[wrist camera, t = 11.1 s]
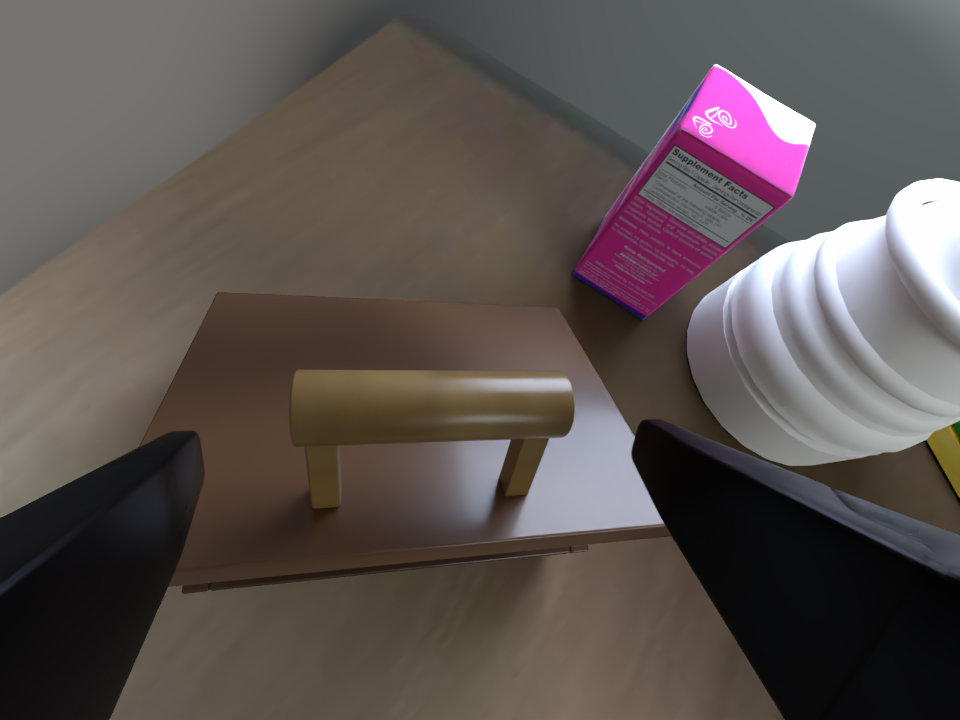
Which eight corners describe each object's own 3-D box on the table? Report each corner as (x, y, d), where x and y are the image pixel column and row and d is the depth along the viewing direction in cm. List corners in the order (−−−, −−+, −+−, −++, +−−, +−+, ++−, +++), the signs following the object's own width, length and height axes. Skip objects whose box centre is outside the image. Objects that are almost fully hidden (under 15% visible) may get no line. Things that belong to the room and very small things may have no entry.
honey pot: (723, 252, 32) (1082, -31, 16) (867, 357, 32) (1381, 175, 16) (656, 381, 27) (1102, 147, 11) (830, 509, 27) (1561, 469, 10)
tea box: (549, 548, 22) (589, 551, 18) (219, 581, 18) (180, 594, 14) (524, 350, 26) (553, 316, 22) (246, 344, 22) (221, 303, 18)
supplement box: (599, 217, 31) (718, 56, 20) (670, 263, 31) (825, 126, 21) (565, 273, 28) (681, 122, 18) (643, 324, 28) (803, 201, 18)
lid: (677, 536, 13) (767, 426, 10) (81, 597, 9) (-41, 450, 6) (554, 319, 22) (584, 226, 19) (220, 306, 18) (194, 188, 15)
